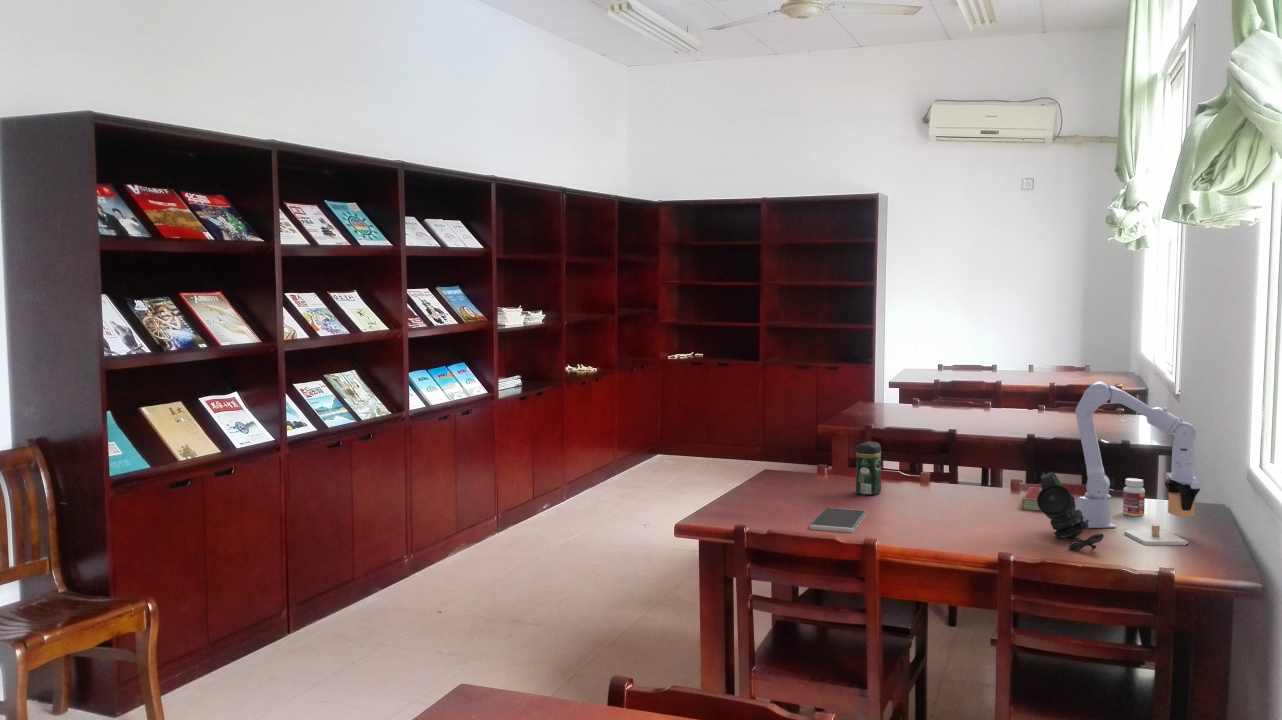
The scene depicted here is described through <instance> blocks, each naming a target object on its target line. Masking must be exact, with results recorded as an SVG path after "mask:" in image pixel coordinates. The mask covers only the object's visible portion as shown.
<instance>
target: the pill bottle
mask: <svg viewBox="0 0 1282 720" xmlns="http://www.w3.org/2000/svg"><path fill="white" fill-rule="evenodd" d="M1124 485H1126V486H1125V487H1123V494H1122V495H1123V498H1122V499H1123V501H1122V504H1123V505H1122V513H1123V514H1124V515H1125V516H1126V515H1127V516H1130V517H1131V516H1132V517H1143V516H1144V515H1145V506H1146V505H1145V498H1146V497H1145V496H1146V490H1145V488H1144V479H1139V478H1134V477H1127V478H1125V482H1124Z"/></svg>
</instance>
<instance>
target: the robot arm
mask: <svg viewBox="0 0 1282 720" xmlns="http://www.w3.org/2000/svg"><path fill="white" fill-rule="evenodd" d="M1108 401H1109V403H1110V404H1121V405H1123V406H1125V407H1127V408H1128V409H1131V410H1132V411H1134V412H1136V413H1138V414H1140V415H1142V416H1144V417H1145V418H1146V421H1147V423H1148V424H1149V425H1151V426H1153V427H1154V428H1156V429H1158V430H1159V431H1160V432H1161V431H1162V432H1163V433H1165V434H1167V435H1172V437H1173V446H1172V447H1171V448H1172V449H1171V450H1172V451H1171V452H1172V453H1171V472H1165V479H1166V480H1169V481H1164V485H1165V487H1166V488H1167V489H1166V490H1167V491H1168V494H1169V493H1180V496H1181V506H1182V510H1191V507H1192V504H1193V501H1194V499H1195V500H1196V498H1197V495H1198V494H1199V492H1200V491H1201V488H1200V481H1198V477H1196V476H1194V475H1195V471H1194V470H1195V469H1194V468H1195V453H1196V452H1195V439H1196V437H1197V432H1196V430H1195V427H1194V425H1193V424H1192V423H1190V422H1189V421H1188V420H1184V418H1183V417H1181V416H1179V417H1178V416H1176V415H1174V414H1173V413H1171V412H1169V408H1166V407H1163V408H1162V407H1161V406H1157V407H1151V406H1150V405H1149V404H1146V403H1144V402H1143V401H1141V400H1139V399H1138V398H1136V397H1134V396H1133V395H1131V394H1129V393H1128V392H1126V391H1124V390H1123V389H1120V388H1118V387H1117V386H1114V385H1111V384H1108V383H1107V382H1105V381H1103V380H1102V381H1101V380H1100V381H1094V382H1092V384H1090V385H1089V386H1088V387H1087V388H1086V389H1085V390H1084V392H1083V395H1082V397H1081V398H1080V400H1079V402H1078V403H1077V406H1076V407H1075V415H1076V422H1077V427H1078V431H1079V436H1080V442H1081V446H1082V452H1083V456H1084V463H1085V467H1086V468H1085V469H1086V477H1087V482H1086V485H1085V488H1086V491H1087V492H1085V494H1084V495H1083V496H1078V497H1077V498H1076V499H1075V510H1081V512H1082V515H1083V517H1084V519H1083V521H1087V523H1088V525H1089V526H1088V527H1087V528H1086V529H1088V528H1089V529H1091V528H1098V529H1101V528H1102V529H1103V528H1105V529H1106V528H1108V529H1109V528H1112V529H1115V528H1117V526H1116V525H1115V524H1112V523H1111V509H1112V507H1111V505H1112V504H1111V502H1112V501H1111V500H1112V495H1110V494H1109V492H1110V486H1111V480H1110V478H1109V477H1108V476H1107V474H1106V472H1105V468H1104V465H1103V460H1102V455H1101V449H1100V444H1099V440H1098V436H1097V430H1096V426H1095V425H1096V424H1095V420H1094V413H1095V412H1096V411H1097V409H1099V407H1101V406H1103V405H1104V404H1106V403H1107V402H1108Z"/></svg>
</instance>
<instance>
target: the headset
mask: <svg viewBox="0 0 1282 720" xmlns="http://www.w3.org/2000/svg"><path fill="white" fill-rule="evenodd" d="M1040 484H1041V488H1042V490H1041V491H1040V493H1039V494H1038V497H1037V504H1038V507H1039V509H1040V510H1039V511H1041V513H1042V514H1044V515H1045V516H1046V518H1048V519H1050V525H1051V527H1052V529H1053V530H1054V535H1055V537H1056V538H1058V539H1059V538H1060V539H1063V540H1065V541H1070V542H1069V543H1070V544H1069V546H1068V549H1070V550H1073V551H1080V550H1082V549H1083V548H1084V547H1086V546H1087V547H1090V551H1092V550H1095V549H1097V545H1096V544H1098V543H1100V542H1101V541H1102V540H1103V539H1104V534H1103V533H1098V534H1096V533H1095V534H1094V535H1091V536H1089V537H1088V538H1086V539H1083V540H1082V539H1077V538H1076V537H1078V536H1080V535H1081V534H1082V533H1083V532H1084V531H1085V530H1087V529H1088V528H1087V527H1088V526H1089V525H1088V523H1087V521H1083V519H1084V517H1083V515H1082V512H1081V510H1075V504H1076V499H1075V497H1074V496H1073V495H1072V494H1071V492H1070V491H1069V489H1067V487H1065V486H1063V483H1062V481H1061V480H1060V479H1059V477H1058V476H1057V475H1056V474H1055V473H1054V472H1053V471H1051V472H1048V473H1046V474H1043V475H1040Z"/></svg>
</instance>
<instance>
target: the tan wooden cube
mask: <svg viewBox="0 0 1282 720" xmlns="http://www.w3.org/2000/svg"><path fill="white" fill-rule="evenodd" d="M1195 501H1196V498H1195V499H1194V501H1193V504H1192V507H1191V510H1182V506H1181V496H1180V493H1169V492H1168V503H1167V504H1168V505H1167V513H1169V514H1171V515H1173V516H1175V517H1195V510H1196V509H1195V508H1196V507H1195V506H1196V502H1195Z"/></svg>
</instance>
